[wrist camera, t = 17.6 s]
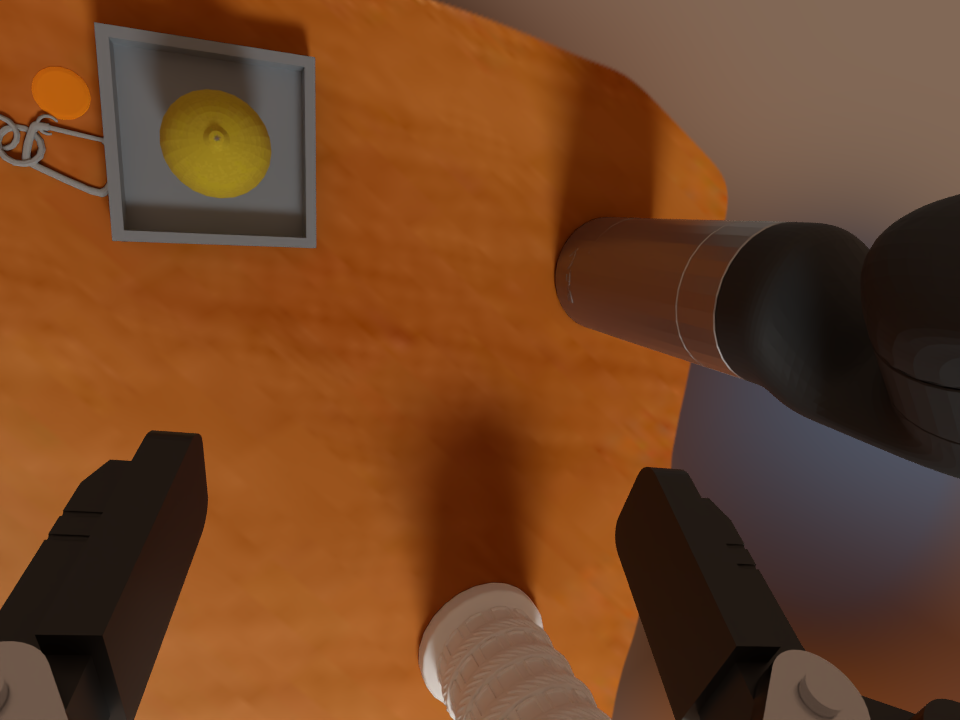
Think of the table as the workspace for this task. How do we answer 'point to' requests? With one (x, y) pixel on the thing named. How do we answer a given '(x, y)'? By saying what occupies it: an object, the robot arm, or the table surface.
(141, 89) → the tray
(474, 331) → the table surface
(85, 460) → the table surface
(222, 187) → the lemon
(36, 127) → the key chain
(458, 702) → the decorative container
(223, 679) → the table surface
